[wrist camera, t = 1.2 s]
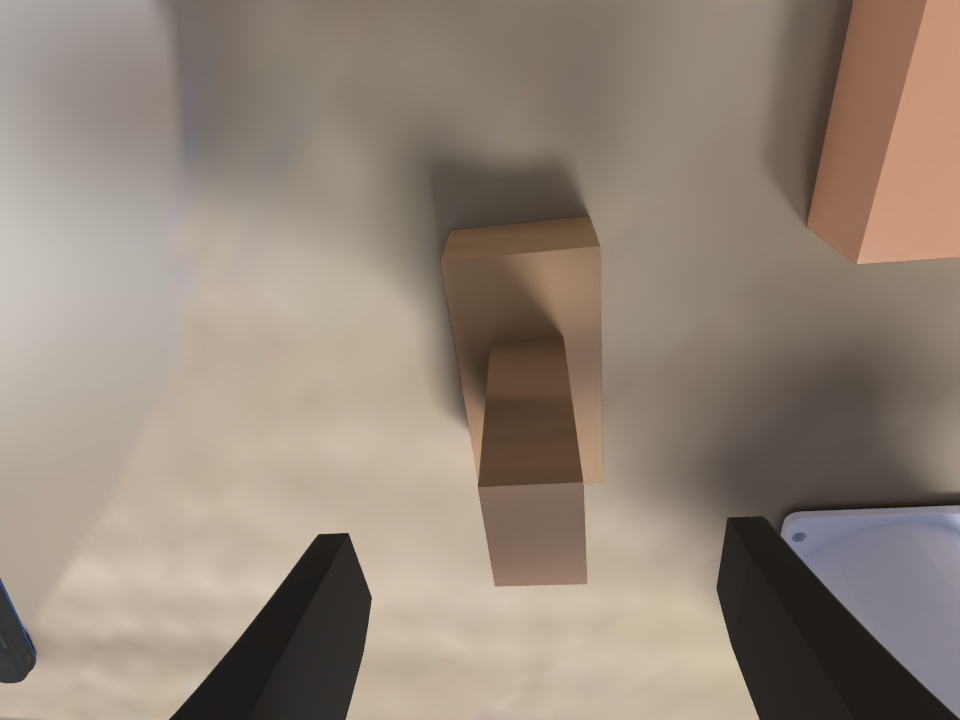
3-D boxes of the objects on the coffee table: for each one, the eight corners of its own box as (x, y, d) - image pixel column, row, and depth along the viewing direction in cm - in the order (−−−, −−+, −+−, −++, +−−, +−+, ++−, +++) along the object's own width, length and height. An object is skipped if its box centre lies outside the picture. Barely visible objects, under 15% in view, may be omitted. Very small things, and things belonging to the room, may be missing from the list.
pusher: (593, 433, 20) (632, 649, 13) (483, 439, 20) (465, 651, 14) (589, 215, 16) (641, 366, 9) (450, 229, 16) (401, 383, 9)
